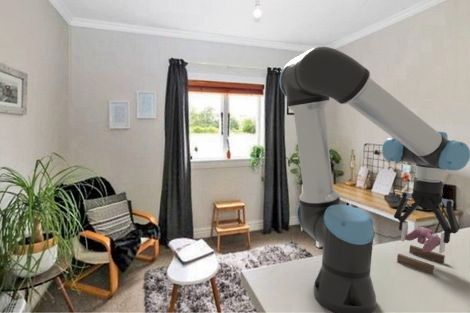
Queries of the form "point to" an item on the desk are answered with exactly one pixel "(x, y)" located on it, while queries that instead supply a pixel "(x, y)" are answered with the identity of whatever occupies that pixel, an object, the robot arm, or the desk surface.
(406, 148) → the robot arm
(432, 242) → the video game controller
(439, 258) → the dock
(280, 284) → the desk surface
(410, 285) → the desk surface
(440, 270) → the desk surface
